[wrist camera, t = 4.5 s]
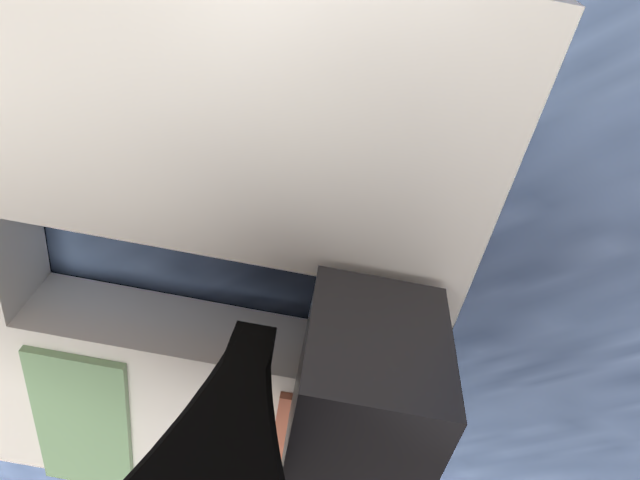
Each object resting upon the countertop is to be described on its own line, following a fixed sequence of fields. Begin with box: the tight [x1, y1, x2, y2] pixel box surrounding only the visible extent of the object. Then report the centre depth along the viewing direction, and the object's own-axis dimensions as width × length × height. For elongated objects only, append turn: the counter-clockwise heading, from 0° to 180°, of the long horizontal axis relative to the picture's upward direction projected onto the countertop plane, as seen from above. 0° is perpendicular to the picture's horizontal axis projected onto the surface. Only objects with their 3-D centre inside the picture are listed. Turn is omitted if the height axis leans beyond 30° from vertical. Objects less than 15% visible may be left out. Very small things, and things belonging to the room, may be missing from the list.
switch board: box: [0, 0, 585, 480], centre depth 12 cm, size 12×14×2 cm
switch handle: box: [282, 265, 467, 480], centre depth 11 cm, size 2×4×5 cm, turn 171°
